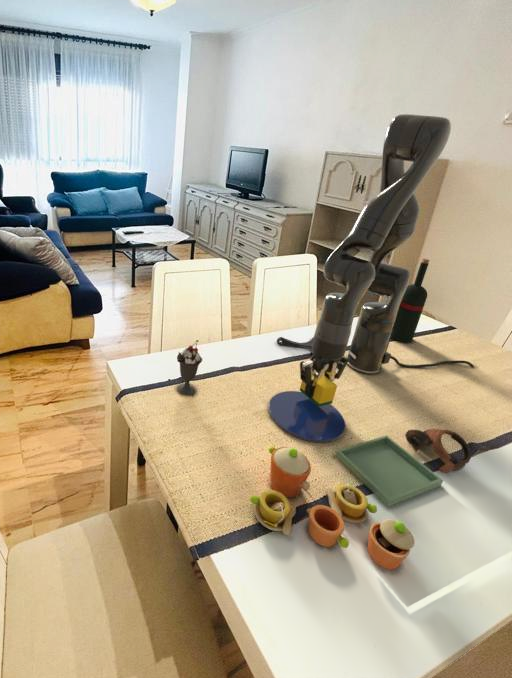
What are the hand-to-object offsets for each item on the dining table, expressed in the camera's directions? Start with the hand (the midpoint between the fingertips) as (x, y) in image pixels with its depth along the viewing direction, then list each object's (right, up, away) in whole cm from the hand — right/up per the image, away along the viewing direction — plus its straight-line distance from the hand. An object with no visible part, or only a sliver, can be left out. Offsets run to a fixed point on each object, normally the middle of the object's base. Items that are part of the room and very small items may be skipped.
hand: (316, 393), depth 99 cm
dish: (+7, -12, -17) cm, 22 cm away
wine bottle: (+47, +9, +41) cm, 63 cm away
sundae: (-33, -1, +5) cm, 34 cm away
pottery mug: (+21, -11, -12) cm, 26 cm away
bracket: (+7, +7, +30) cm, 32 cm away
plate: (-4, -5, -3) cm, 7 cm away
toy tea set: (-11, -15, -28) cm, 34 cm away
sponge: (0, -1, 0) cm, 1 cm away
